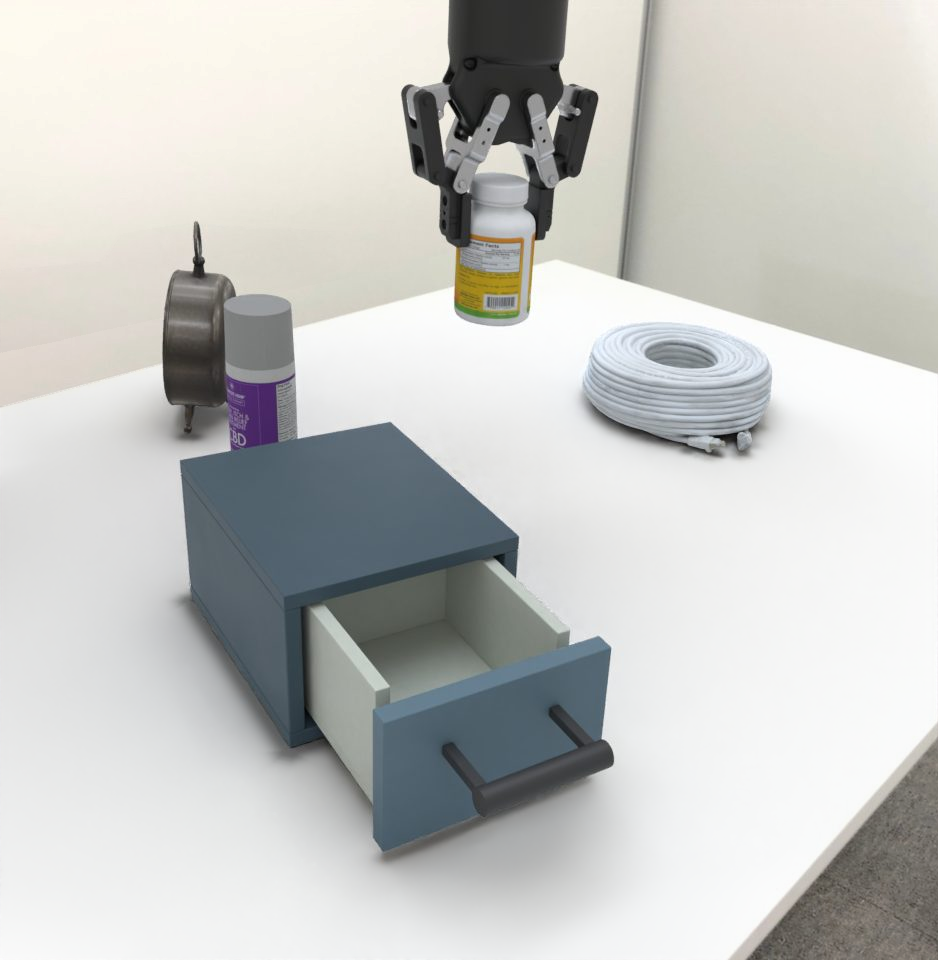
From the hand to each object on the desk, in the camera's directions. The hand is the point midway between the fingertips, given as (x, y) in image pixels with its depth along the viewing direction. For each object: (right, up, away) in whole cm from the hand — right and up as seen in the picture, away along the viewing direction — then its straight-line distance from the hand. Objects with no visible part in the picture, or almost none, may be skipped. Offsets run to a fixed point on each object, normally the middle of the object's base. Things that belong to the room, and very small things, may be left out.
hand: (495, 240), depth 83 cm
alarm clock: (-26, -11, +18) cm, 34 cm away
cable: (+13, -10, +29) cm, 33 cm away
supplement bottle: (-1, -5, +3) cm, 6 cm away
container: (-18, -18, +6) cm, 26 cm away
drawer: (0, -31, -18) cm, 36 cm away
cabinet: (-8, -26, -8) cm, 29 cm away
